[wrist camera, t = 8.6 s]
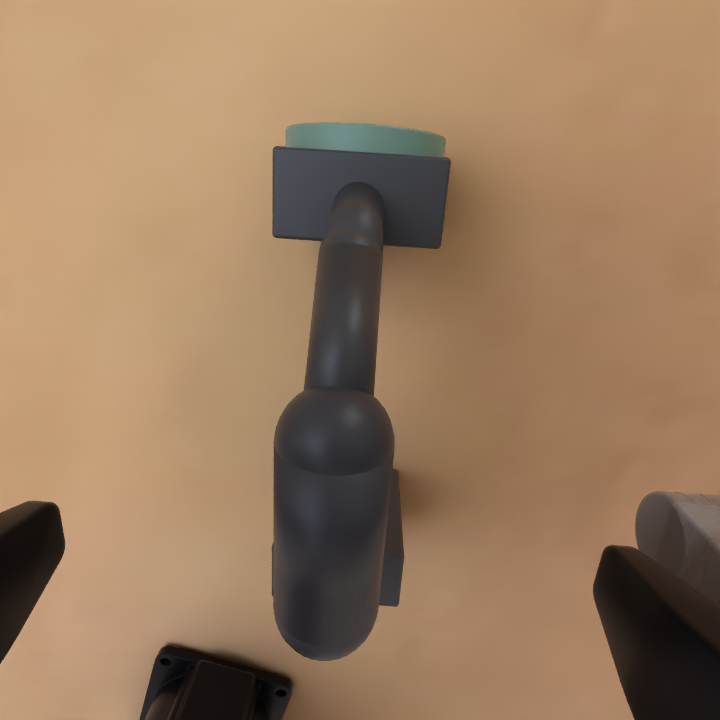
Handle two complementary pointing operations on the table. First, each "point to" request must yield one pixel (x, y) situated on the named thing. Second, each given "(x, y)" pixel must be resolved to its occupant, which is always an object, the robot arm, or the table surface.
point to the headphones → (345, 376)
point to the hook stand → (683, 537)
